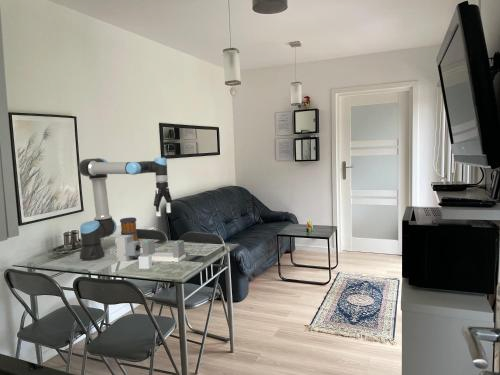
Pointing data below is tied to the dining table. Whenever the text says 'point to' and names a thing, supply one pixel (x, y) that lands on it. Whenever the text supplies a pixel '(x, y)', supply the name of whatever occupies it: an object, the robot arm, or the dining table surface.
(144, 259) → the block
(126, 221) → the mug
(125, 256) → the circuit breaker
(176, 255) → the rail plate
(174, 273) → the dining table surface
